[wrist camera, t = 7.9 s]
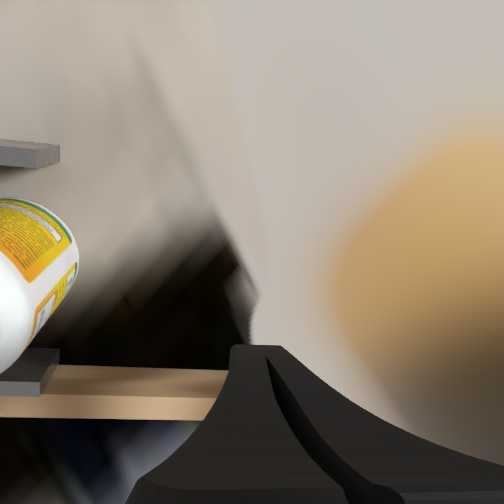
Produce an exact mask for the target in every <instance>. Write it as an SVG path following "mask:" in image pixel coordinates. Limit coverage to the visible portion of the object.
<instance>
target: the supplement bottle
mask: <svg viewBox="0 0 504 504" xmlns="http://www.w3.org/2000/svg"><path fill="white" fill-rule="evenodd" d="M78 268H79V253H78V248H77V244H76V241H75V239H74V237H73V235H72V233H71V231H70V229H69V228H68V227H67V225H66V224H65V223H64V222H63V221H62V220H61V219H60V218H59V217H57V216H56V215H55V214H54V213H53V212H51V211H50V210H48V209H47V208H45V207H43V206H42V205H39V204H37V203H35V202H32V201H29V200H25V199H20V198H0V374H1V373H2V372H4V371H5V370H6V369H8V368H9V367H10V366H11V365H12V364H13V363H14V362H15V361H16V360H17V359H18V358H19V357H20V355H21V354H22V353H23V351H24V350H25V349H26V348H27V346H28V345H29V344H30V342H31V341H32V340H33V338H34V337H35V336H36V334H37V333H38V331H39V330H40V329H41V328H42V326H43V325H44V324H45V322H46V321H47V320H48V318H49V317H50V316H51V315H52V313H53V312H54V310H55V309H56V308H57V307H58V305H59V304H60V302H61V301H62V300H63V299H64V297H65V296H66V294H67V293H68V291H69V290H70V289H71V287H72V285H73V283H74V281H75V279H76V276H77V273H78Z"/></svg>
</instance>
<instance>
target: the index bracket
mask: <svg viewBox="0 0 504 504" xmlns="http://www.w3.org/2000/svg"><path fill="white" fill-rule="evenodd" d="M57 162H60V145H52V144H42V143H33V142H23V141H14V140H4V139H0V165H5V166H16V167H26V168H36V169H37V168H40V167H44V166H47V165H50V164H54V163H57ZM59 361H60V348H37V347H27V348H26V349H25V350H24V351H23V353H22V354H21V355H20V357H19V358H18V359H17V360H16V361H15V362H14V363H13V364H12V365H11V366H10V367H9V368H8V369H6V370H5V371H4V372H2V373H1V374H0V396H29V397H40V396H41V394H42V392H43V390H44V388H45V386H46V385H47V383H48V381H49V379H50V377H51V376H52V374H53V372H54V370H55V368H56V367H57V365H58V363H59Z"/></svg>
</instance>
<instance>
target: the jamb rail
mask: <svg viewBox="0 0 504 504" xmlns="http://www.w3.org/2000/svg"><path fill="white" fill-rule="evenodd" d="M227 374H228V371H225V370H196V369H166V368H137V367H108V366H78V365H57V367H56V368H55V370H54V372H53V374H52V376H51V377H50V379H49V381H48V383H47V385H46V386H45V388H44V390H43V392H42V394H41V396H40V397H29V396H0V417H36V418H95V419H153V420H204V418H205V417H206V415H207V414H208V412H209V411H210V409H211V408H212V406H213V404H214V402H215V401H216V399H217V397H218V395H219V393H220V391H221V389H222V387H223V385H224V382H225V380H226V377H227Z"/></svg>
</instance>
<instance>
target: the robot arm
mask: <svg viewBox="0 0 504 504" xmlns="http://www.w3.org/2000/svg"><path fill="white" fill-rule="evenodd" d="M125 504H504V466H502V465H499V464H496V463H492V462H488V461H485V460H481V459H478V458H475V457H471V456H468V455H465V454H462V453H459V452H456V451H454V450H451V449H448V448H446V447H442V446H440V445H437V444H435V443H432V442H430V441H427V440H425V439H423V438H420V437H418V436H415V435H413V434H411V433H409V432H407V431H405V430H403V429H401V428H398V427H396V426H394V425H392V424H390V423H388V422H386V421H384V420H382V419H381V418H379V417H377V416H375V415H374V414H372V413H370V412H368V411H367V410H365V409H363V408H361V407H360V406H358V405H357V404H355V403H353V402H352V401H350V400H349V399H347V398H346V397H344V396H343V395H342V394H340V393H339V392H337V391H336V390H335V389H333V388H332V387H330V386H329V385H328V384H327V383H325V382H324V381H323V380H321V379H320V378H319V377H318V376H316V375H315V374H314V373H313V372H311V371H310V370H309V369H308V368H307V367H305V366H304V365H303V364H302V363H301V362H300V361H298V360H297V359H296V358H295V357H294V356H293V355H291V354H290V353H289V352H288V351H287V350H285V349H284V348H283V347H281V346H276V345H236V344H235V345H234V346H233V347H232V348H231V349H230V361H229V371H228V374H227V377H226V380H225V382H224V385H223V387H222V389H221V391H220V393H219V395H218V397H217V399H216V401H215V402H214V404H213V406H212V408H211V409H210V411H209V412H208V414H207V415H206V417H205V418H204V420H203V421H202V422H201V423H200V425H199V426H198V427H197V428H196V430H195V431H194V432H193V433H192V435H191V436H190V437H189V438H188V439H187V440H186V441H185V442H184V443H183V444H182V445H181V446H180V447H179V448H178V449H177V450H176V451H175V452H174V453H173V454H172V455H171V456H170V457H168V458H167V459H166V460H165V461H164V462H163V463H161V464H160V465H158V466H157V467H155V468H154V469H153V470H151V471H150V472H148V473H147V474H145V475H144V476H142V477H141V478H139V479H138V480H137V482H136V484H135V486H134V488H133V490H132V491H131V493H130V495H129V497H128V499H127V501H126V503H125Z"/></svg>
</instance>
